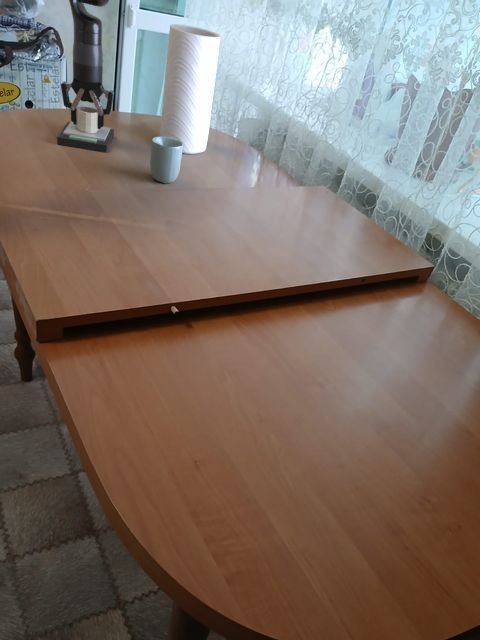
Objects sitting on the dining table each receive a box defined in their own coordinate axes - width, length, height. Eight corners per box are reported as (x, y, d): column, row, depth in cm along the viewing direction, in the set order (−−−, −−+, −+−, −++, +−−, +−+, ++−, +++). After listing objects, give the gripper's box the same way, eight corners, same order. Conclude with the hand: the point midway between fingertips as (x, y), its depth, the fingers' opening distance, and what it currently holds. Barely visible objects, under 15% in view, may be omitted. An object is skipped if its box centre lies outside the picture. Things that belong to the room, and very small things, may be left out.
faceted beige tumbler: (74, 131, 151) (74, 110, 148) (78, 124, 156) (78, 104, 153) (96, 135, 152) (97, 114, 149) (100, 128, 157) (100, 108, 154)
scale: (57, 144, 148) (57, 134, 146) (68, 128, 160) (68, 119, 158) (106, 152, 150) (106, 143, 149) (113, 136, 162) (114, 127, 160)
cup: (170, 188, 139) (174, 149, 133) (143, 179, 140) (146, 140, 134) (183, 180, 145) (188, 142, 139) (157, 172, 146) (160, 134, 140)
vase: (215, 152, 169) (232, 38, 150) (181, 157, 159) (194, 36, 140) (184, 136, 175) (196, 25, 156) (149, 140, 165) (157, 22, 147)
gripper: (56, 58, 139) (58, 125, 149) (113, 69, 142) (112, 134, 152) (62, 52, 145) (63, 117, 155) (117, 63, 148) (115, 126, 158)
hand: (87, 125), depth 153 cm, fingers closed on faceted beige tumbler, 6 cm apart
